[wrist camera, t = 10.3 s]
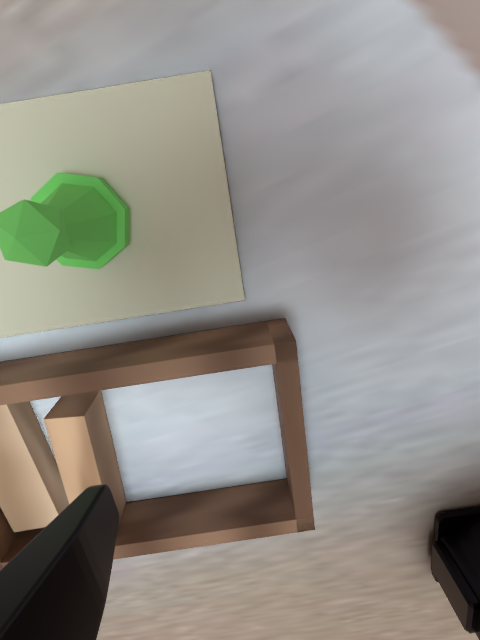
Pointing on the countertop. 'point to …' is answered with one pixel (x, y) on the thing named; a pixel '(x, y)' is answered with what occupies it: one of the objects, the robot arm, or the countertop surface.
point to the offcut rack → (171, 363)
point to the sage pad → (135, 191)
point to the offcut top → (84, 445)
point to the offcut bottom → (27, 471)
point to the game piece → (66, 224)
